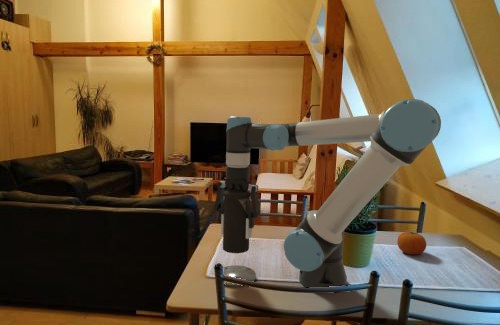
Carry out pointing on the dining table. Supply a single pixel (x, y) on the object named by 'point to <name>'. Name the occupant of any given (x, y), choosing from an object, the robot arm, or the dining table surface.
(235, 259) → the dining table surface
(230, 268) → the flange plate
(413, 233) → the fruit
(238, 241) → the container
